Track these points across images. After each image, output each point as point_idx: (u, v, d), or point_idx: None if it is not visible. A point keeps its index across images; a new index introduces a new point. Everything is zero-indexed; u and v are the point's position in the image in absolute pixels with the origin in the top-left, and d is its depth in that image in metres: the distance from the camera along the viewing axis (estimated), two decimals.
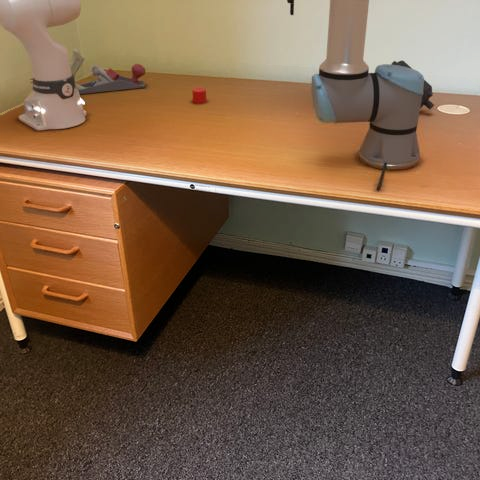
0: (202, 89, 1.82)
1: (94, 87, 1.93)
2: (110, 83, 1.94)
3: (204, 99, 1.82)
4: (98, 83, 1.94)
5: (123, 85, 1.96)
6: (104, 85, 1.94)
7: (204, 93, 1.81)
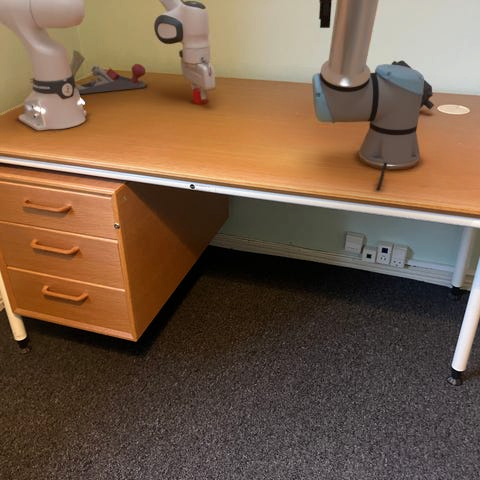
0: None
1: (94, 87, 1.93)
2: (110, 83, 1.94)
3: None
4: (98, 83, 1.94)
5: (123, 85, 1.96)
6: (104, 85, 1.94)
7: None
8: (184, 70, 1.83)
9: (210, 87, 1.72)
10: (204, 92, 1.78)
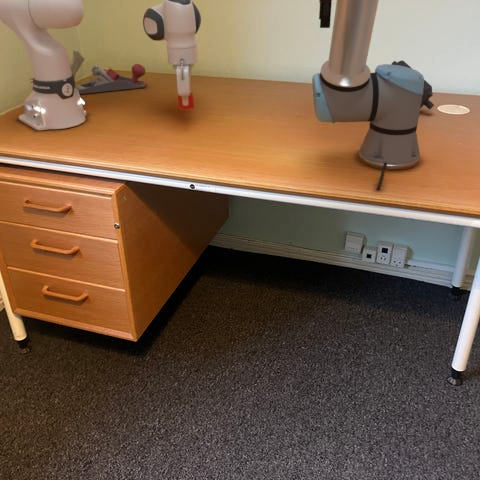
0: None
1: (94, 87, 1.93)
2: (110, 83, 1.94)
3: (188, 105, 1.63)
4: (98, 83, 1.94)
5: (123, 85, 1.96)
6: (104, 85, 1.94)
7: (189, 98, 1.62)
8: None
9: (182, 92, 1.53)
10: (185, 97, 1.60)
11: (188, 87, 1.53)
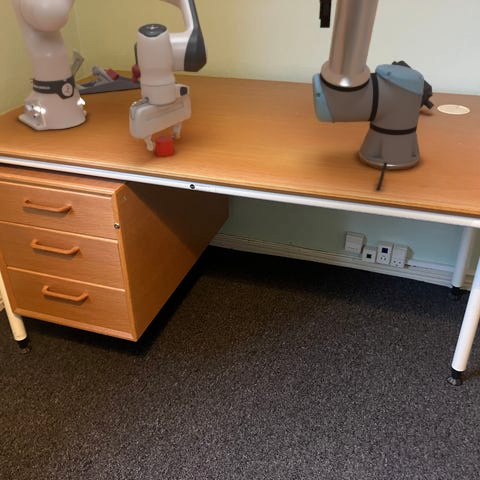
0: (166, 139, 1.42)
1: (94, 87, 1.93)
2: (110, 83, 1.94)
3: (161, 152, 1.43)
4: (98, 83, 1.94)
5: (123, 85, 1.96)
6: (104, 85, 1.94)
7: (161, 145, 1.42)
8: None
9: (133, 134, 1.34)
10: (147, 141, 1.38)
11: (138, 130, 1.33)
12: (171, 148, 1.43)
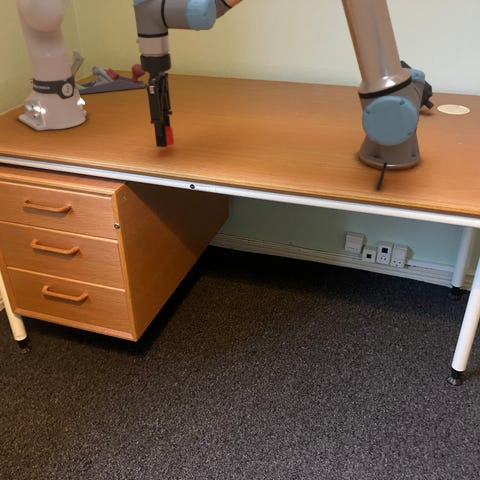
0: (166, 129, 1.41)
1: (94, 87, 1.93)
2: (110, 83, 1.94)
3: None
4: (98, 83, 1.94)
5: (123, 85, 1.96)
6: (104, 85, 1.94)
7: None
8: None
9: None
10: None
11: None
12: (171, 138, 1.42)
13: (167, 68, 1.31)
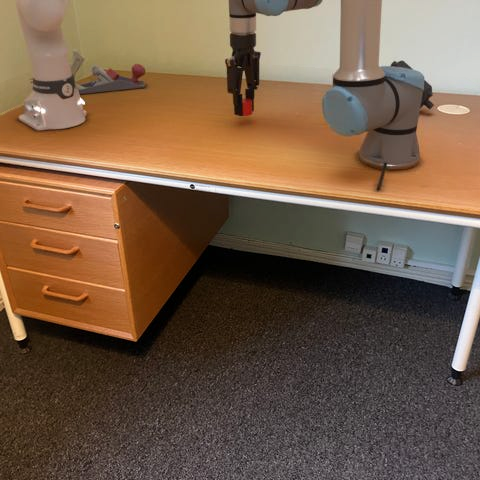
0: (245, 101, 1.60)
1: (94, 87, 1.93)
2: (110, 83, 1.94)
3: None
4: (98, 83, 1.94)
5: (123, 85, 1.96)
6: (104, 85, 1.94)
7: None
8: None
9: None
10: None
11: None
12: (248, 110, 1.60)
13: (247, 46, 1.49)
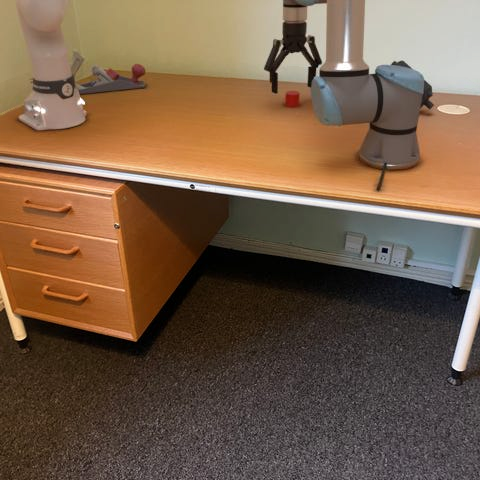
0: (291, 93, 1.75)
1: (94, 87, 1.93)
2: (110, 83, 1.94)
3: (286, 102, 1.77)
4: (98, 83, 1.94)
5: (123, 85, 1.96)
6: (104, 85, 1.94)
7: (286, 96, 1.76)
8: None
9: None
10: None
11: None
12: (293, 102, 1.76)
13: (294, 34, 1.63)
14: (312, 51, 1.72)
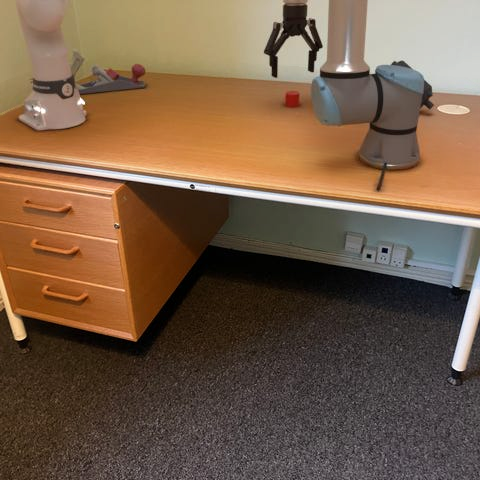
0: (291, 93, 1.75)
1: (94, 87, 1.93)
2: (110, 83, 1.94)
3: (286, 102, 1.77)
4: (98, 83, 1.94)
5: (123, 85, 1.96)
6: (104, 85, 1.94)
7: (286, 96, 1.76)
8: None
9: None
10: None
11: None
12: (293, 102, 1.76)
13: (295, 17, 1.61)
14: (313, 34, 1.70)
